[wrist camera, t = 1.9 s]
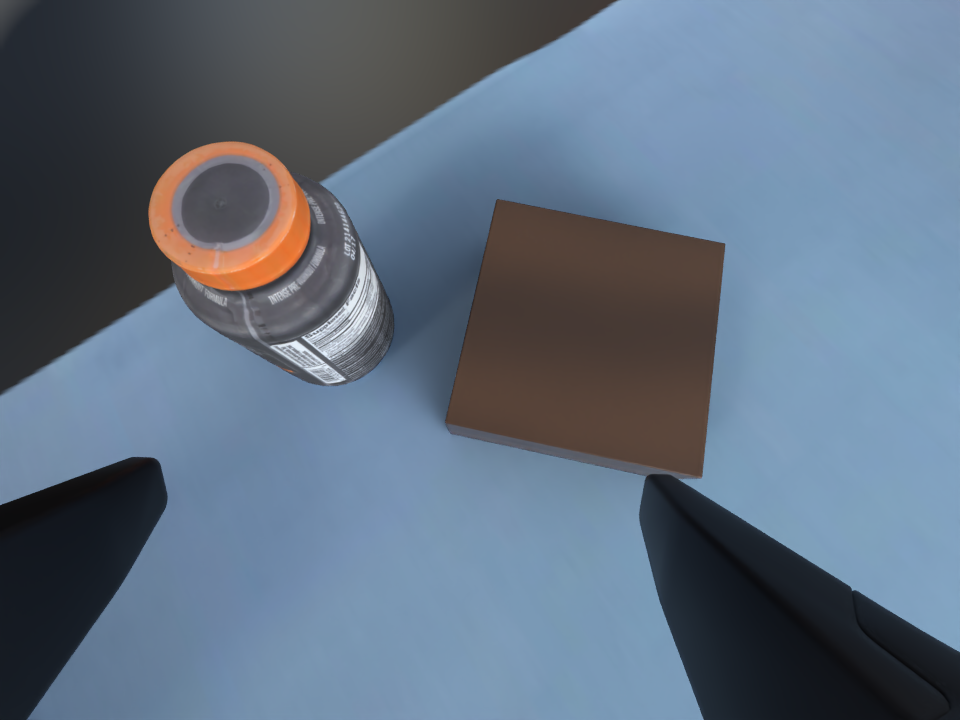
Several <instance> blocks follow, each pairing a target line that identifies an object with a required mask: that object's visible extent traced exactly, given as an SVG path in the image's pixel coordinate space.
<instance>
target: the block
mask: <svg viewBox="0 0 960 720" xmlns="http://www.w3.org/2000/svg"><path fill="white" fill-rule="evenodd" d="M724 252H725V244H724V243H719V242H714V241H709V240H704V239H699V238H693V237H688V236H683V235H678V234H673V233H668V232H663V231H658V230H653V229H647V228H642V227H637V226H632V225H627V224H622V223H617V222H612V221H607V220H602V219H596V218H591V217H586V216H581V215H576V214H571V213H566V212H561V211H556V210H550V209H545V208H540V207H535V206H530V205H525V204H520V203H515V202H510V201H505V200H499V199H497V200H496V204H495V208H494V212H493V217H492V221H491V225H490V230H489V234H488V238H487V243H486V247H485V251H484V256H483V260H482V264H481V269H480V273H479V277H478V282H477V286H476V290H475V295H474V299H473V303H472V308H471V312H470V316H469V321H468V325H467V329H466V334H465V338H464V342H463V347H462V351H461V355H460V360H459V364H458V368H457V373H456V377H455V381H454V385H453V390H452V394H451V398H450V403H449V407H448V411H447V416H446V420H445V423H446V425H447V428H448V430H449V432H450V433H451V434H455V435H459V436H464V437H468V438H473V439H478V440H482V441H487V442H492V443H496V444H501V445H505V446H510V447H515V448H519V449H524V450H528V451H533V452H538V453H542V454H547V455H552V456H556V457H561V458H565V459H570V460H575V461H579V462H584V463H588V464H593V465H598V466H602V467H607V468H612V469H616V470H621V471H625V472H630V473H635V474H639V475H644V476H648V475H649V474H669V475H672V476H673V477H675V478H677V479H700V478H702V473H703V463H704V453H705V443H706V433H707V423H708V413H709V403H710V393H711V383H712V373H713V363H714V353H715V343H716V332H717V322H718V312H719V302H720V292H721V282H722V272H723V262H724Z"/></svg>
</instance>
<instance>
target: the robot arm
mask: <svg viewBox="0 0 960 720" xmlns="http://www.w3.org/2000/svg"><path fill="white" fill-rule="evenodd" d="M166 505H167V491H166V486H165V482H164V478H163V473H162V469H161V465H160V463H159V461H158V460H157V459H155V458H150V457H131V458H128V459H125V460H122V461H120V462H117V463H114V464H111V465H109V466H106V467H103V468H100V469H98V470H95V471H92V472H90V473H87V474H84V475H81V476H79V477H76V478H73V479H70V480H68V481H65V482H62V483H60V484H57V485H54V486H51V487H49V488H46V489H43V490H40V491H38V492H35V493H32V494H30V495H27V496H24V497H21V498H19V499H16V500H13V501H10V502H8V503H5V504H2V505H0V720H27V719H28V717H29V716H30V714H31V713H32V711H33V710H34V709H35V707H36V706H37V704H38V703H39V701H40V700H41V699H42V697H43V696H44V694H45V693H46V692H47V690H48V689H49V687H50V686H51V684H52V683H53V682H54V680H55V679H56V677H57V676H58V674H59V673H60V672H61V670H62V669H63V667H64V666H65V665H66V663H67V662H68V660H69V659H70V657H71V656H72V655H73V653H74V652H75V650H76V649H77V647H78V646H79V645H80V643H81V642H82V640H83V639H84V638H85V636H86V635H87V633H88V632H89V630H90V629H91V628H92V626H93V625H94V623H95V622H96V620H97V619H98V618H99V616H100V615H101V613H102V612H103V611H104V609H105V608H106V606H107V605H108V603H109V602H110V601H111V599H112V598H113V596H114V595H115V593H116V592H117V590H118V589H119V587H120V586H121V584H122V583H123V581H124V579H125V578H126V576H127V574H128V573H129V571H130V569H131V568H132V566H133V564H134V562H135V561H136V559H137V557H138V555H139V554H140V552H141V550H142V548H143V547H144V545H145V543H146V541H147V540H148V538H149V536H150V534H151V533H152V531H153V529H154V527H155V526H156V524H157V522H158V520H159V519H160V517H161V515H162V513H163V512H164V510H165V508H166ZM639 519H640V526H641V530H642V533H643V537H644V541H645V545H646V549H647V553H648V557H649V561H650V565H651V569H652V573H653V577H654V581H655V585H656V589H657V593H658V596H659V600H660V603H661V606H662V609H663V612H664V614H665V617H666V620H667V622H668V625H669V628H670V630H671V633H672V636H673V638H674V641H675V644H676V646H677V649H678V652H679V654H680V657H681V660H682V662H683V665H684V668H685V670H686V673H687V676H688V678H689V681H690V684H691V686H692V689H693V692H694V694H695V697H696V700H697V702H698V705H699V708H700V711H701V713H702V716H703V719H704V720H960V652H958V651H957V650H955V649H953V648H951V647H950V646H948V645H946V644H944V643H943V642H941V641H939V640H937V639H936V638H934V637H932V636H930V635H929V634H927V633H925V632H923V631H922V630H920V629H918V628H917V627H915V626H913V625H912V624H910V623H908V622H907V621H905V620H903V619H902V618H900V617H898V616H897V615H895V614H893V613H892V612H890V611H889V610H887V609H885V608H884V607H882V606H880V605H879V604H877V603H876V602H874V601H872V600H871V599H869V598H868V597H866V596H864V595H863V594H861V593H860V592H858V591H856V590H854V591H852V589H851V587H850V586H848V585H847V584H845V583H843V582H842V581H840V580H839V579H837V578H835V577H834V576H832V575H831V574H829V573H827V572H826V571H824V570H823V569H821V568H819V567H818V566H816V565H815V564H813V563H811V562H810V561H808V560H807V559H805V558H803V557H802V556H800V555H799V554H797V553H795V552H794V551H792V550H791V549H789V548H787V547H786V546H784V545H783V544H781V543H779V542H778V541H776V540H775V539H773V538H771V537H770V536H768V535H766V534H765V533H763V532H762V531H760V530H758V529H757V528H755V527H754V526H752V525H750V524H749V523H747V522H746V521H744V520H742V519H741V518H739V517H738V516H736V515H734V514H733V513H731V512H730V511H728V510H726V509H725V508H723V507H722V506H720V505H718V504H717V503H715V502H714V501H712V500H710V499H709V498H707V497H706V496H704V495H702V494H701V493H699V492H698V491H696V490H694V489H693V488H691V487H690V486H688V485H686V484H685V483H683V482H682V481H680V480H678V479H677V478H675V477H673V476H672V475H669V474H649V475H648V476H647V477H646V479H645V483H644V488H643V494H642V500H641V505H640V512H639Z"/></svg>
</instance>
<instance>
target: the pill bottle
mask: <svg viewBox="0 0 960 720" xmlns="http://www.w3.org/2000/svg"><path fill="white" fill-rule="evenodd" d="M149 223H150V228H151V232H152V236H153V238H154V240H155V242H156V243H157V245H158V246H159V248H160V249H161V251H162V252H163V253H164V254H165V255H166V256H167V257H168V258H169V259H170V260H171V261H172V263H171V264H172V270H173V276H174V280H175V284H176V286H177V289H178V291H179V293H180V295H181V297H182V298H183V300H184V302H185V303H186V305H187V306H188V307H189V309H190V310H191V311H192V312H193V313H194V314H195V316H197V317H198V318H199V319H200V320H201V321H202V322H204V323H205V324H206V325H208V326H209V327H211V328H213V329H214V330H216V331H217V332H219V333H220V334H222V335H224V336H225V337H227V338H229V339H231V340H233V341H234V342H236V343H238V344H240V345H242V346H243V347H245V348H246V349H248V350H250V351H251V352H253V353H255V354H257V355H259V356H260V357H262V358H263V359H265V360H267V361H268V362H270V363H272V364H274V365H276V366H278V367H280V368H281V369H283V370H285V371H286V372H288V373H290V374H292V375H294V376H296V377H298V378H300V379H302V380H303V381H306V382H308V383H312V384H316V385H321V386H338V385H343V384H347V383H350V382H353V381H356V380H358V379H360V378H361V377H363V376H365V375H366V374H368V373H369V372H370V371H372V370H373V369H374V368H375V367H376V366H377V365H378V364H379V363H380V361H381V360H382V359H383V357H384V356H385V354H386V353H387V351H388V349H389V347H390V344H391V341H392V338H393V332H394V315H393V310H392V306H391V304H390V301H389V298H388V296H387V294H386V292H385V290H384V287H383V285H382V283H381V281H380V279H379V277H378V275H377V273H376V271H375V269H374V267H373V265H372V262H371V260H370V258H369V256H368V254H367V252H366V250H365V248H364V246H363V244H362V242H361V240H360V238H359V236H358V233H357V231H356V230H355V228H354V226H353V223H352V221H351V219H350V217H349V216H348V214H347V212H346V210H345V208H344V207H343V206H342V204H341V203H340V202H339V201H338V200H337V198H336V197H335V196H334V195H333V194H332V193H331V192H329V191H328V190H327V189H326V188H324V187H323V186H322V185H320V184H319V183H317V182H315V181H313V180H311V179H309V178H307V177H305V176H303V175H300V174H297V173H294V172H289V171H288V170H287V169H286V167H285V166H284V165H283V164H282V163H281V162H280V161H279V160H278V159H277V158H276V157H274V156H273V155H272V154H270V153H269V152H267V151H265V150H263V149H261V148H259V147H257V146H254V145H252V144H247V143H242V142H219V143H213V144H208V145H205V146H202V147H199V148H197V149H194V150H192V151H190V152H188V153H187V154H185V155H183V156H182V157H181V158H179V159H178V160H177V161H175V162H174V163H173V164H172V165H171V166H170V167H169V168H168V169H167V170H166V171H165V173H164V174H163V175H162V177H161V178H160V179H159V181H158V182H157V184H156V186H155V188H154V190H153V193H152V197H151V200H150V205H149Z"/></svg>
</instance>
